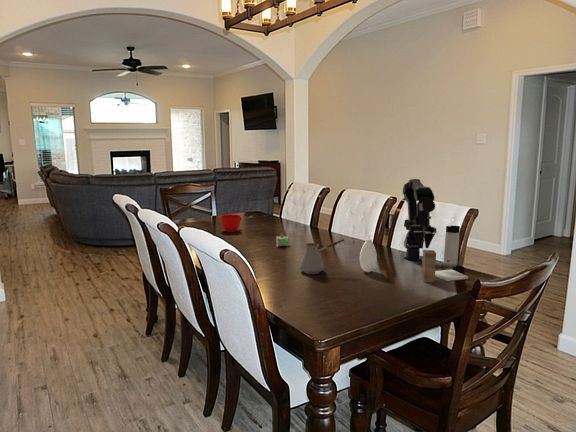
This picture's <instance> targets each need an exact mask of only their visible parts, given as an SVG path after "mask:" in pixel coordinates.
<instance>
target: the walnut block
mask: <svg viewBox="0 0 576 432" xmlns="http://www.w3.org/2000/svg"><path fill="white" fill-rule="evenodd" d="M421 261H422V262H421V280H422V282H424V283H435V281H436V280H435V277H436V276H435V271H436V263H437V252H436V251H435V250H433V249H423V250H422V260H421Z"/></svg>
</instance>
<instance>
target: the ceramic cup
mask: <svg viewBox="0 0 576 432" xmlns="http://www.w3.org/2000/svg"><path fill="white" fill-rule="evenodd" d="M241 221H242V216H241V215H240V214H223V215H220V224H221V227H222V228H223V230H224V231H225V232H226V233H236V232H237V231H238V229H239V228H240V226H241Z"/></svg>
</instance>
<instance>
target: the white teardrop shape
mask: <svg viewBox="0 0 576 432" xmlns="http://www.w3.org/2000/svg"><path fill="white" fill-rule="evenodd" d="M360 249H361V250H360V253H359V265H360V267H361V270H363V271H364V272H365V273H371V272H372V271H373V270H375V267H376V265H377V262H378V255H377V250H376V247H375V244H374V243H373V240H372V239H371V238H370V236H368V238H366V239H365V242H364V243H363V244H362V247H361V248H360Z"/></svg>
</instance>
